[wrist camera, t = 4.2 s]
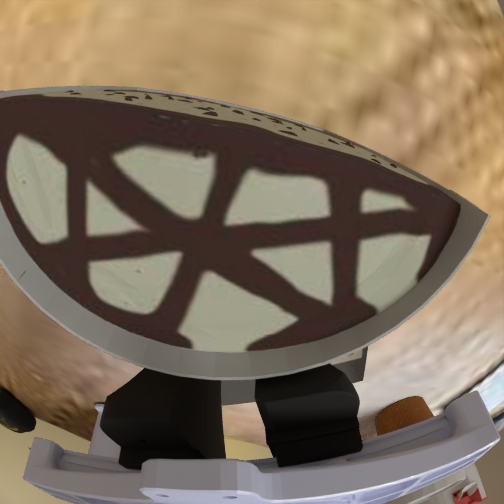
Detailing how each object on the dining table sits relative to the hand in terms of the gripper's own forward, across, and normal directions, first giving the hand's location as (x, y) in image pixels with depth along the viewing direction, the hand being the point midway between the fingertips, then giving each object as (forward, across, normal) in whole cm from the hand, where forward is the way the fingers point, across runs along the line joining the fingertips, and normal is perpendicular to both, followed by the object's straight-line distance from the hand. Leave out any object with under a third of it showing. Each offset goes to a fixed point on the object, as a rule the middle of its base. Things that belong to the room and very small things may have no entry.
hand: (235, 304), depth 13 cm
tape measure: (+4, +34, +16) cm, 37 cm away
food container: (+4, 0, -5) cm, 7 cm away
